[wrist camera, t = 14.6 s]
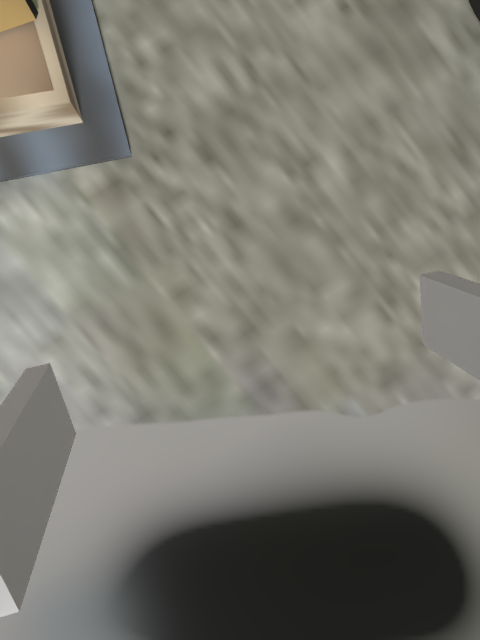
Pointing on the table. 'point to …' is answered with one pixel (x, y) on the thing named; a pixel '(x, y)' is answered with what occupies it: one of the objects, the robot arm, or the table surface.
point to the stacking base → (91, 101)
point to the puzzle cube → (16, 13)
